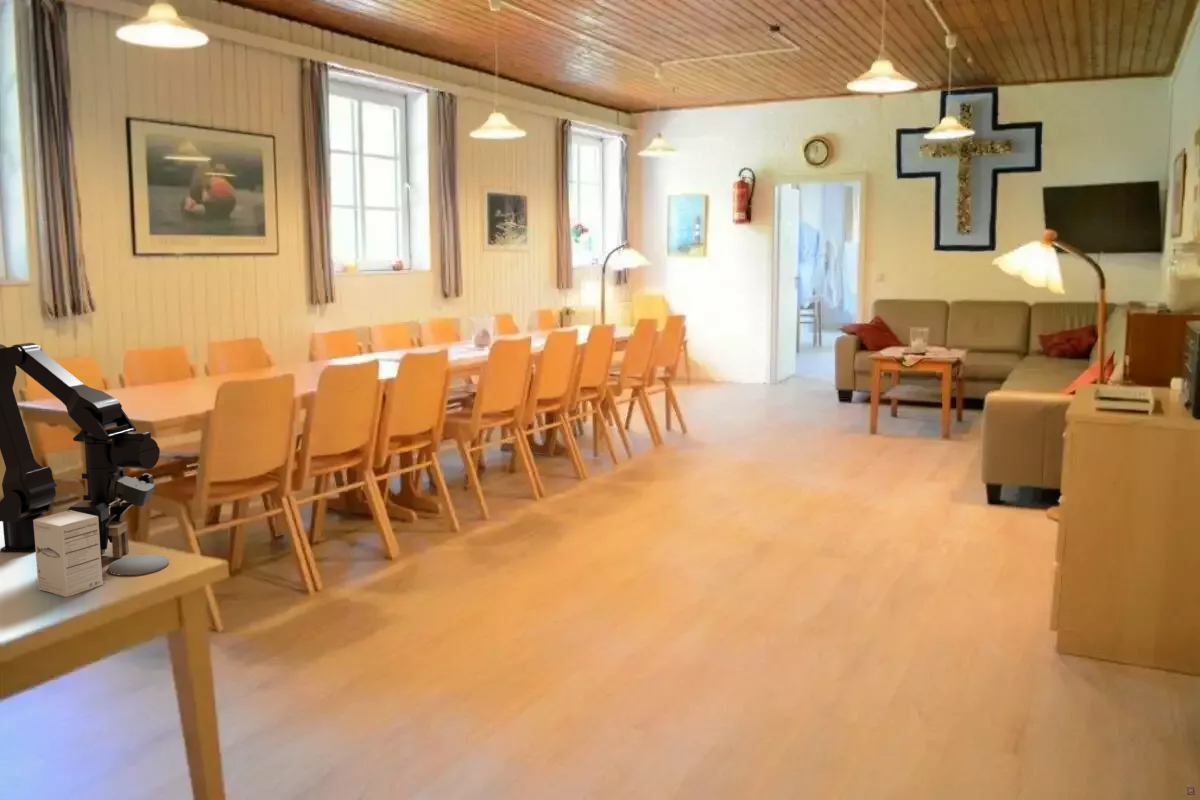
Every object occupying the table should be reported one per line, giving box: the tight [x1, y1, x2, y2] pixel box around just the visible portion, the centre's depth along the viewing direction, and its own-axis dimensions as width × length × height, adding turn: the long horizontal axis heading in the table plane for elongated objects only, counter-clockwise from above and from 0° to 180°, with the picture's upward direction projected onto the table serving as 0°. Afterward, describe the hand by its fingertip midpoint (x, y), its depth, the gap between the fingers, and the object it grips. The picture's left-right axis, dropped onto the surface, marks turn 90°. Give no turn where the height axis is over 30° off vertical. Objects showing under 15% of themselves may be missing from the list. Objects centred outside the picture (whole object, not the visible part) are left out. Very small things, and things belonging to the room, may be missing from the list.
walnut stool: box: [100, 521, 130, 559], centre depth 189 cm, size 6×4×6 cm
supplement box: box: [33, 510, 103, 598], centre depth 171 cm, size 7×7×13 cm
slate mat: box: [108, 553, 170, 576], centre depth 183 cm, size 10×10×1 cm
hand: (108, 545), depth 189 cm, fingers closed on walnut stool, 4 cm apart
